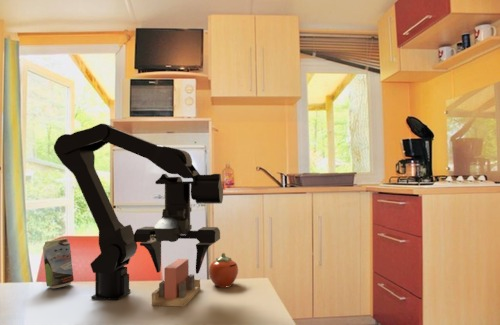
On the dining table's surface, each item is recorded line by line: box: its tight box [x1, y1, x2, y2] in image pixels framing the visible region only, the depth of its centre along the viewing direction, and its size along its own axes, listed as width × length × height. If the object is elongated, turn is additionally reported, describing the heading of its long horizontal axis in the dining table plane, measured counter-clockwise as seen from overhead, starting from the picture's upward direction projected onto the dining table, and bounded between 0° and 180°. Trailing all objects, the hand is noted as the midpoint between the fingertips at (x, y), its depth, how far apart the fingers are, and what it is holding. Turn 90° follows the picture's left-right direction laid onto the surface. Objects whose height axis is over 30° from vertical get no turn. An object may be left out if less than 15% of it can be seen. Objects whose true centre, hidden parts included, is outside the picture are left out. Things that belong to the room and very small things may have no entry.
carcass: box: [151, 273, 201, 307], centre depth 85 cm, size 7×12×4 cm, turn 172°
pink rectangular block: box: [163, 258, 190, 299], centre depth 85 cm, size 9×2×6 cm, turn 172°
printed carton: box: [42, 237, 74, 289], centre depth 93 cm, size 6×7×12 cm
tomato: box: [208, 252, 239, 288], centre depth 93 cm, size 7×7×8 cm
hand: (177, 272), depth 85 cm, fingers open, 9 cm apart
